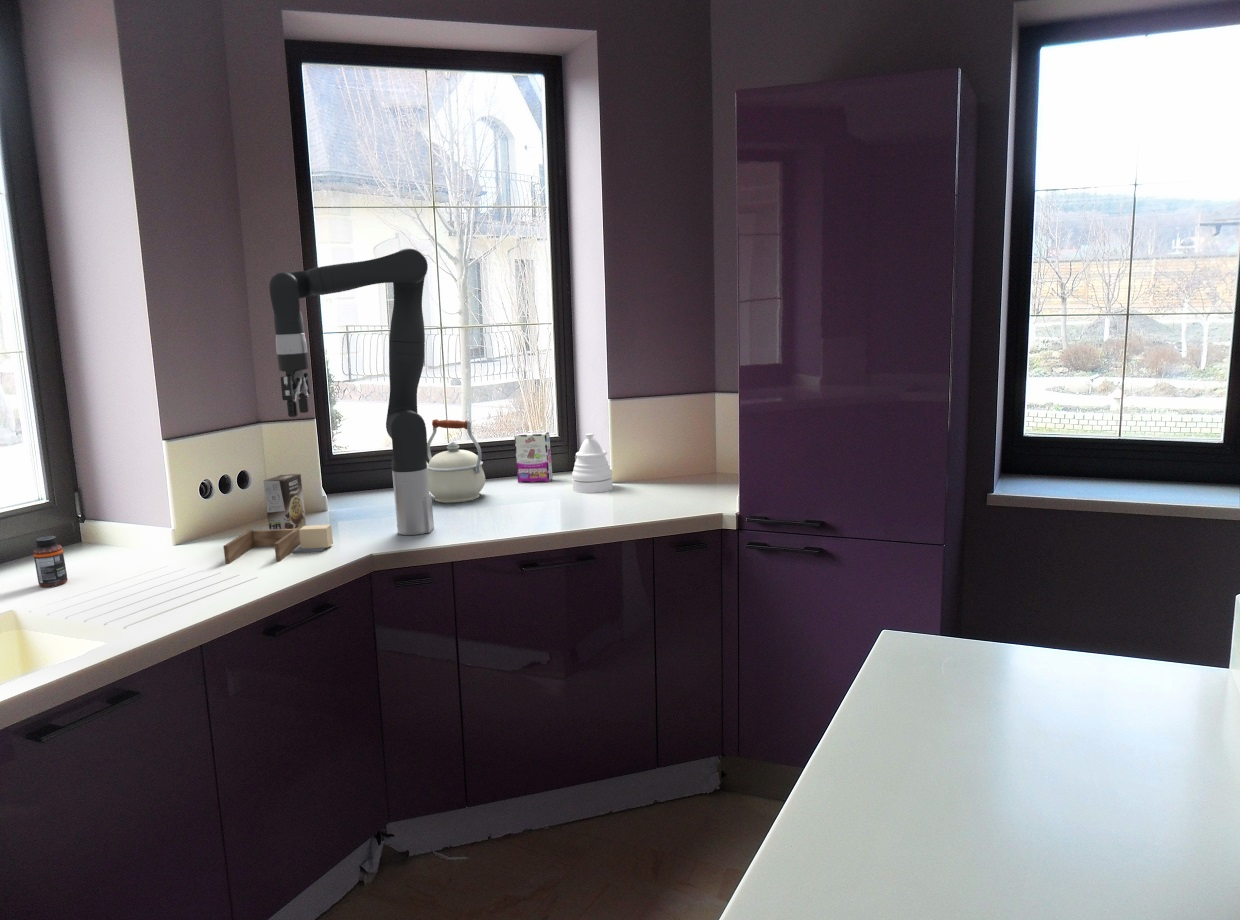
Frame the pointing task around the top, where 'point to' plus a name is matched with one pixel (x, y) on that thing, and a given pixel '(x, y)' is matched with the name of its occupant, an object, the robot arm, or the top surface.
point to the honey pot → (591, 468)
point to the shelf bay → (263, 543)
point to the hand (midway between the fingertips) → (299, 414)
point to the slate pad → (307, 549)
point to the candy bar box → (533, 457)
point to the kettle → (455, 468)
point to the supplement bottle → (49, 562)
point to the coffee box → (284, 502)
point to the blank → (316, 536)
